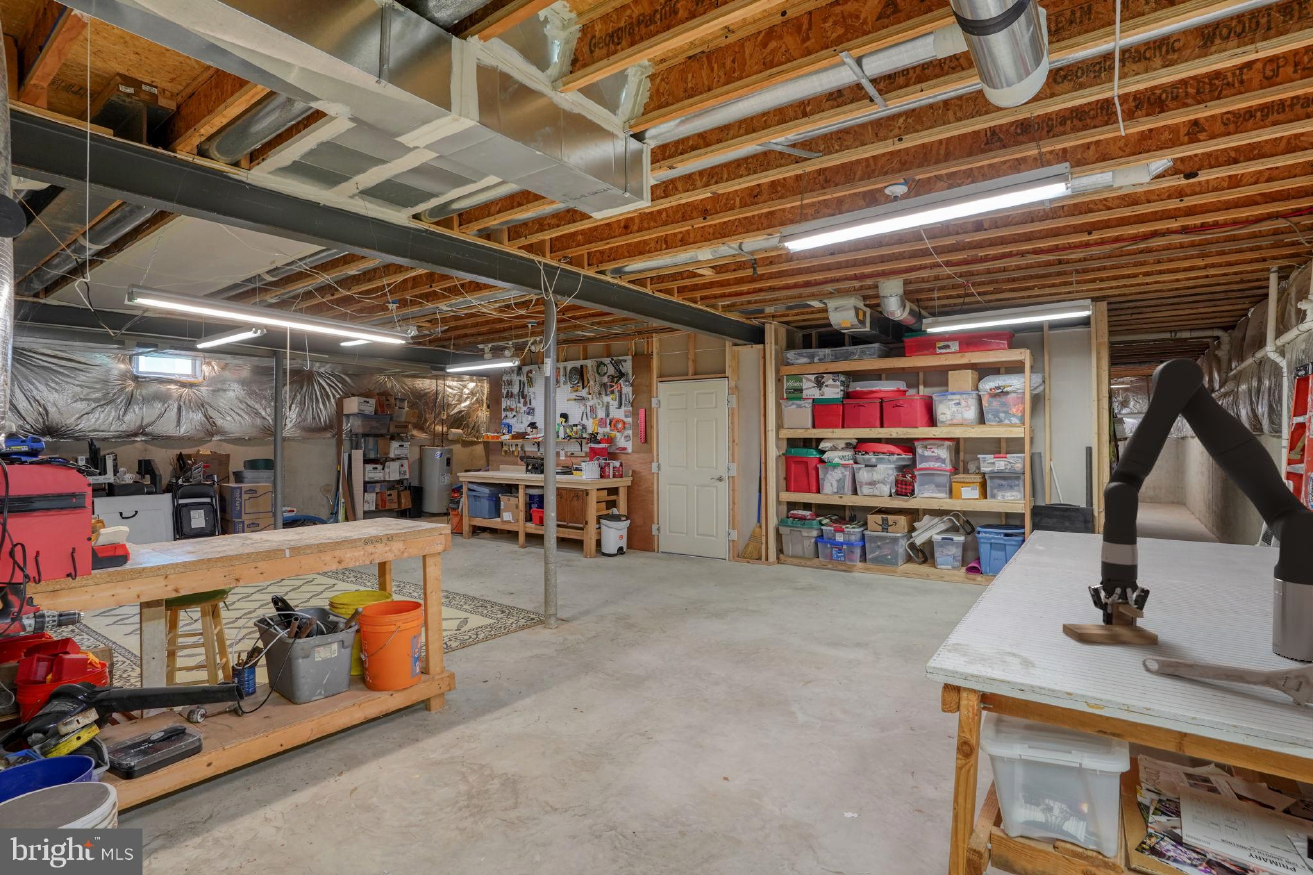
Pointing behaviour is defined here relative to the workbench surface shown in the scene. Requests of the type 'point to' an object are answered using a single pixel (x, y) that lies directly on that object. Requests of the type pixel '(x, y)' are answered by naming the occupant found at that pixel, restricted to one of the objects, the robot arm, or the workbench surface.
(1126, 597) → the robot arm
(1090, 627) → the board
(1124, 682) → the workbench surface
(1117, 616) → the gauge
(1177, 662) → the wrench
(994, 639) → the workbench surface
